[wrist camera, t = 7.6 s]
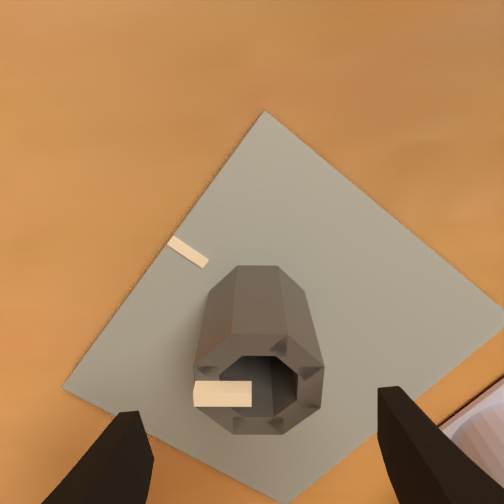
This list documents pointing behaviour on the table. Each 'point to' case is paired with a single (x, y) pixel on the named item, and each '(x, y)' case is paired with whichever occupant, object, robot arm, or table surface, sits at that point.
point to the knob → (258, 354)
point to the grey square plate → (319, 301)
